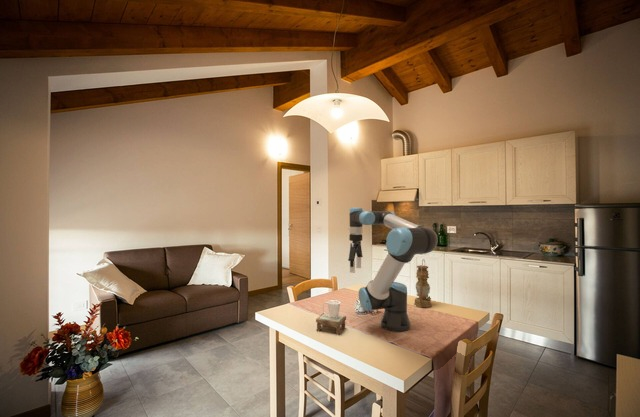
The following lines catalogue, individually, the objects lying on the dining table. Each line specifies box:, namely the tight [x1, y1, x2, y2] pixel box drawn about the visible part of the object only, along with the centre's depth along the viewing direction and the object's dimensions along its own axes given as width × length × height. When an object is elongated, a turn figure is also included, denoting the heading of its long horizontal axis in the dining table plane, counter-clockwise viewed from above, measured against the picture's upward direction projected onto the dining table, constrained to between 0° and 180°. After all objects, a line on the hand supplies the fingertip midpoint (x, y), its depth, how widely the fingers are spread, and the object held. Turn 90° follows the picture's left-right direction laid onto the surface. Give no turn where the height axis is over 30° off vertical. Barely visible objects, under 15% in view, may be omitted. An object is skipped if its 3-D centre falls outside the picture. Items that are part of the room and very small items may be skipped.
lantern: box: [414, 259, 432, 308], centre depth 196 cm, size 15×10×30 cm
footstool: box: [315, 312, 347, 335], centre depth 157 cm, size 13×10×6 cm
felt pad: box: [319, 313, 345, 322], centre depth 157 cm, size 11×8×1 cm
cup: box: [321, 299, 341, 319], centre depth 157 cm, size 7×10×8 cm
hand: (355, 270), depth 176 cm, fingers open, 13 cm apart
